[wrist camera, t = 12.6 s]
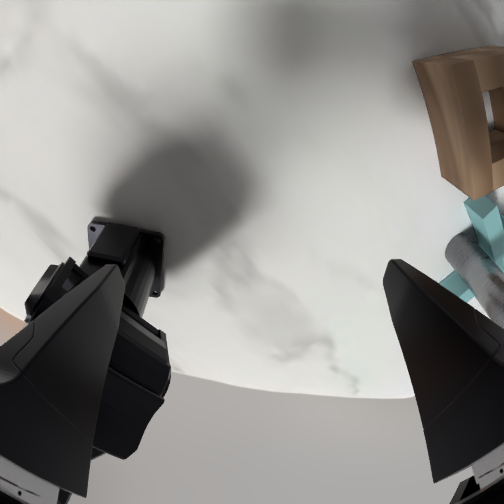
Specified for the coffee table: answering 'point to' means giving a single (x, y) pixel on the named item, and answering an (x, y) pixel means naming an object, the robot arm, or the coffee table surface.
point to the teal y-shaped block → (481, 240)
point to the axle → (478, 274)
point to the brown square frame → (466, 116)
